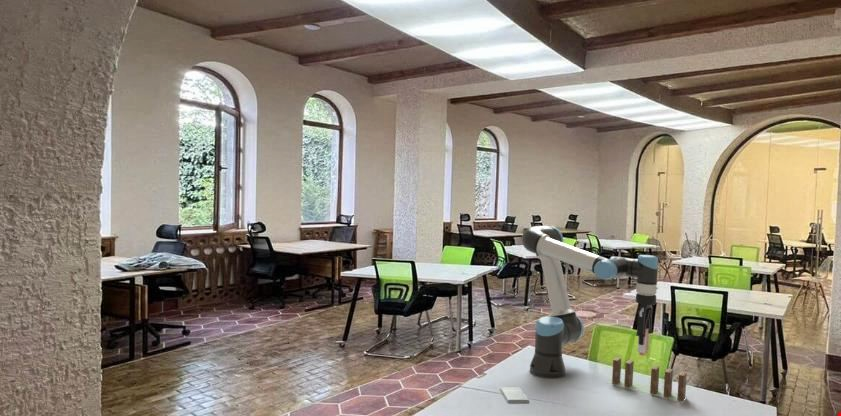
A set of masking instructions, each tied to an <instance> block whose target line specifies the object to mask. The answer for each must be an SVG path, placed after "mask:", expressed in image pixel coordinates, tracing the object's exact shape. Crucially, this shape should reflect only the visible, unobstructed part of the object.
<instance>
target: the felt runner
mask: <svg viewBox="0 0 841 416" xmlns="http://www.w3.org/2000/svg"><path fill="white" fill-rule="evenodd" d="M624 383H625V380H623V379H620V382H619V383H618V384H617V385H616V384H612V379H610V380H609V381H608V382H607V384H608V385H613V386H617V387H620V388H624V389H628V390H631V391H635V392H640V393H643V394H648V395H651V396H655V397H659V398H662V399H667V400H671V401H675V402H679V403H683V404H684V403H685V402H686V400H683V401H678V400H677V397H678V393H675V392H672V394H671V395H670V397H669V398H667V397H664V389H659V388H658V392H657V393H656V394H651V393H650V386H647V385H643V384H639V383H635V382H633V384H632V385H631V386H630V387H629V388H627V387H624ZM685 397H687V395H685ZM687 398H688V397H687ZM684 401H685V402H684Z"/></svg>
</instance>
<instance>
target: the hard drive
mask: <svg viewBox="0 0 841 416" xmlns="http://www.w3.org/2000/svg"><path fill="white" fill-rule="evenodd" d="M499 389H500V392H501V394H502V396H503V397H504V399H505V401H506V402H507V403H509V404H511V403H514V404H515V403H519V404H521V403H523V402H524V403H523V404H525V403H526V402H528V403H526V404H529V403H530V399H529V398H528V396H527V395H526V394H525V392H524V391H523V390H522V387H515V386H514V387H510V386H509V387H505V386H504V387H500V388H499Z"/></svg>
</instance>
